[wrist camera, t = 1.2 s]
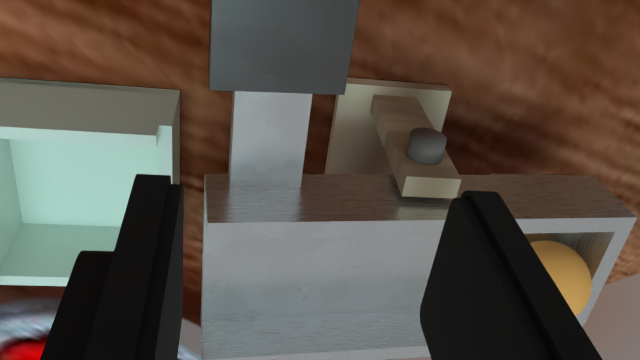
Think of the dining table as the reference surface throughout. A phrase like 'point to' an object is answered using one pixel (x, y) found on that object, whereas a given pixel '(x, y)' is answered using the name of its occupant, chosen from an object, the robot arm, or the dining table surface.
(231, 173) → the track
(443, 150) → the stand
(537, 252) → the ball
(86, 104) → the mint green storage bin
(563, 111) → the dining table surface
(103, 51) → the dining table surface
